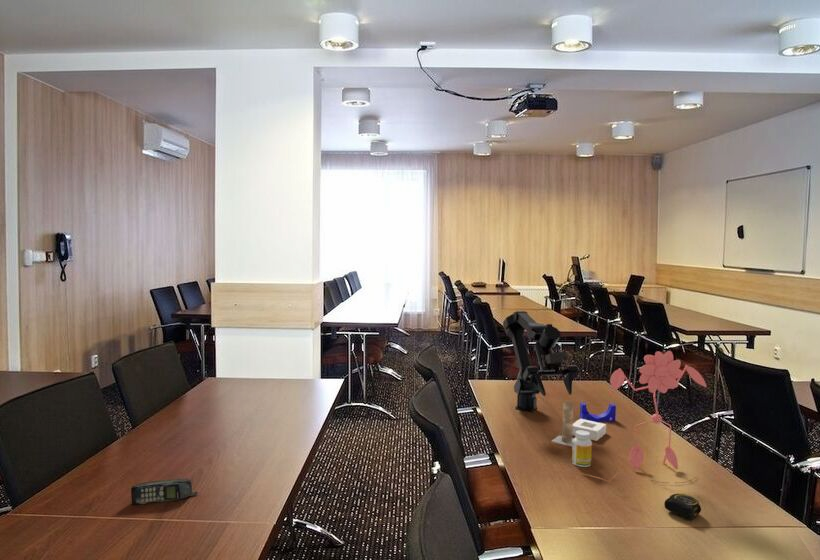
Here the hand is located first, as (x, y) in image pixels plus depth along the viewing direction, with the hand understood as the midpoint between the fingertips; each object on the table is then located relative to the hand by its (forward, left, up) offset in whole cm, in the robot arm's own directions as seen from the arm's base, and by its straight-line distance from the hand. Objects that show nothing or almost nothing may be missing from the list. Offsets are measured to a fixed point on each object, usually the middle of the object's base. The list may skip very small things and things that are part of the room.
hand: (557, 395), depth 183 cm
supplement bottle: (+16, -19, -14) cm, 28 cm away
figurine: (+35, -11, -14) cm, 39 cm away
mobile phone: (-57, -107, -14) cm, 122 cm away
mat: (+6, -5, -13) cm, 15 cm away
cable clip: (+6, +23, -14) cm, 27 cm away
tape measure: (+46, -32, -14) cm, 58 cm away
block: (+9, +6, -13) cm, 17 cm away
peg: (+6, -5, -13) cm, 15 cm away
